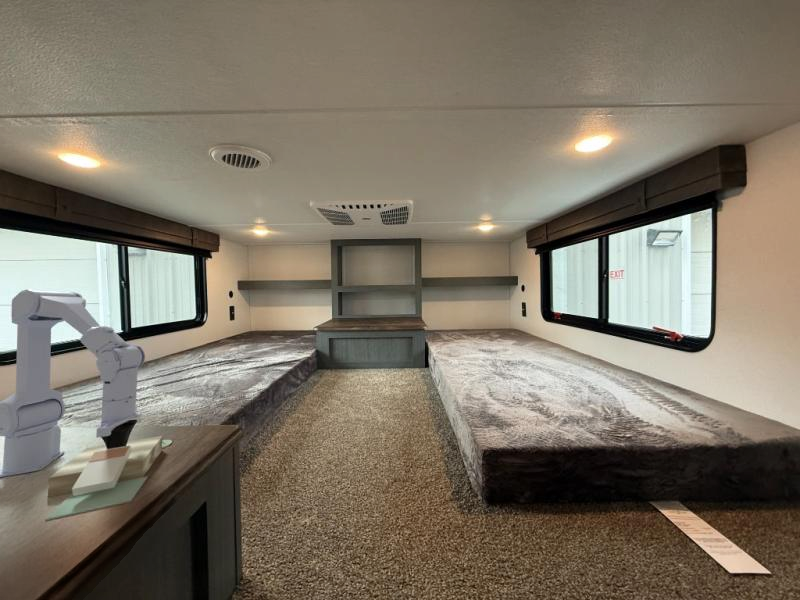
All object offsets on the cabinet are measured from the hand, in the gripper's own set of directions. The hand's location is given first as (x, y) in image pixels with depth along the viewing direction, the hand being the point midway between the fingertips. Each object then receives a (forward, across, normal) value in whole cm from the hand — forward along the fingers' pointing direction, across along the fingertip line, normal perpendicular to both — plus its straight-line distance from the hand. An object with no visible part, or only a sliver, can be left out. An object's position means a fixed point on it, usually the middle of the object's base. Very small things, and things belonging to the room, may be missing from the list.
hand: (116, 455), depth 65 cm
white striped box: (+1, -5, 0) cm, 5 cm away
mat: (+5, -9, -1) cm, 10 cm away
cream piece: (+5, +3, +2) cm, 6 cm away
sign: (+5, +16, -9) cm, 19 cm away
